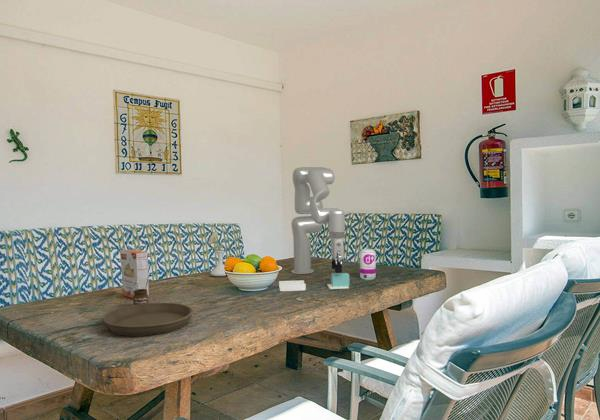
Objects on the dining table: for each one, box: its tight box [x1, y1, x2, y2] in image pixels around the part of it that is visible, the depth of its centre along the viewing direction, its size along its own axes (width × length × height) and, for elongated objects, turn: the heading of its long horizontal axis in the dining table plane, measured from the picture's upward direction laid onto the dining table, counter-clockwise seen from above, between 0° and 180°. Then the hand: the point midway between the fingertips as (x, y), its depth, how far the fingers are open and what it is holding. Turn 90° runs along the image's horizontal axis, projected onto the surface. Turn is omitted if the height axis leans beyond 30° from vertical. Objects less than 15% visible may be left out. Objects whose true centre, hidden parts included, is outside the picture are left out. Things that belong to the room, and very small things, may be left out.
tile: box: [326, 283, 350, 290], centre depth 232 cm, size 9×9×1 cm
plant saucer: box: [101, 302, 194, 337], centre depth 172 cm, size 31×31×5 cm
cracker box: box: [120, 249, 150, 299], centre depth 216 cm, size 14×6×21 cm, turn 47°
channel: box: [278, 279, 307, 292], centre depth 229 cm, size 9×12×3 cm
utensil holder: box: [132, 276, 150, 305], centre depth 198 cm, size 6×6×12 cm
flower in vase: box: [208, 231, 227, 277], centre depth 265 cm, size 13×11×25 cm
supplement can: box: [359, 248, 377, 281], centre depth 251 cm, size 8×8×15 cm
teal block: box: [330, 272, 350, 287], centre depth 232 cm, size 5×8×6 cm, turn 95°
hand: (336, 270), depth 232 cm, fingers open, 9 cm apart
